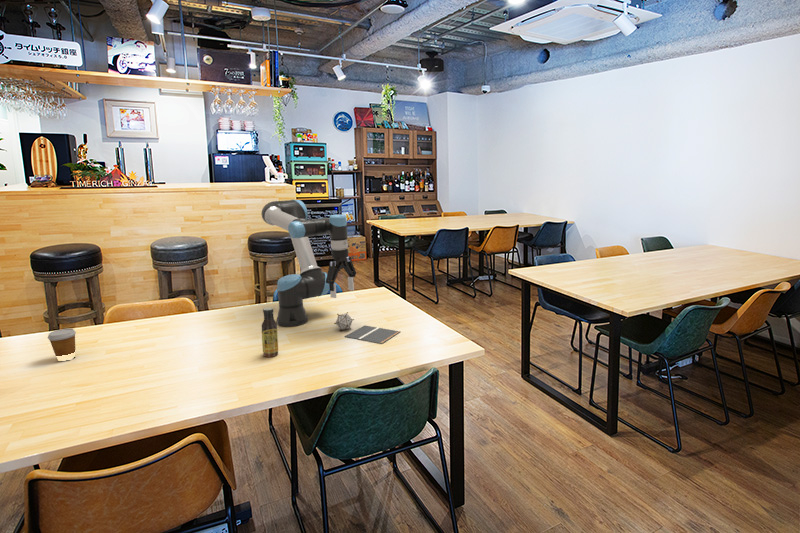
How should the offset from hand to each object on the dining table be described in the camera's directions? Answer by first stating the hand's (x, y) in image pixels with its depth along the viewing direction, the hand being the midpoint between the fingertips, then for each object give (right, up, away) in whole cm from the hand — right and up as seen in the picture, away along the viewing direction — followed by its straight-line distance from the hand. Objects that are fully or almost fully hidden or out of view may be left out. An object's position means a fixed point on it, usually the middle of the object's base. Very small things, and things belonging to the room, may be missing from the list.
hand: (342, 293), depth 212 cm
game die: (0, -17, +4) cm, 18 cm away
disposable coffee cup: (-113, -26, -20) cm, 118 cm away
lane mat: (+14, -18, -4) cm, 24 cm away
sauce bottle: (-27, -24, -23) cm, 43 cm away
